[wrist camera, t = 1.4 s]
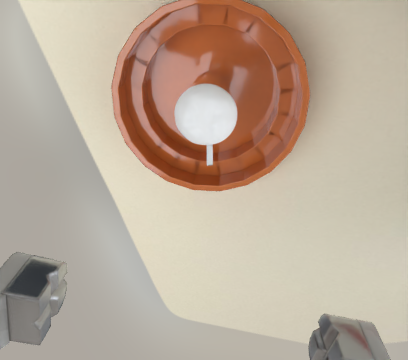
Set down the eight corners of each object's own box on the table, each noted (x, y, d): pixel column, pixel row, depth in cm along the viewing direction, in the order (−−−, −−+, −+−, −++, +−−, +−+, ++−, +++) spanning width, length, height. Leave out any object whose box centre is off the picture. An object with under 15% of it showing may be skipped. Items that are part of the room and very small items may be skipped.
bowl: (193, -52, 27) (187, -60, 23) (336, 77, 31) (352, 89, 27) (95, 106, 34) (78, 121, 30) (224, 196, 38) (223, 220, 34)
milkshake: (191, 123, 34) (178, 168, 25) (182, 67, 31) (165, 94, 22) (237, 118, 33) (241, 163, 24) (233, 60, 31) (235, 87, 22)
